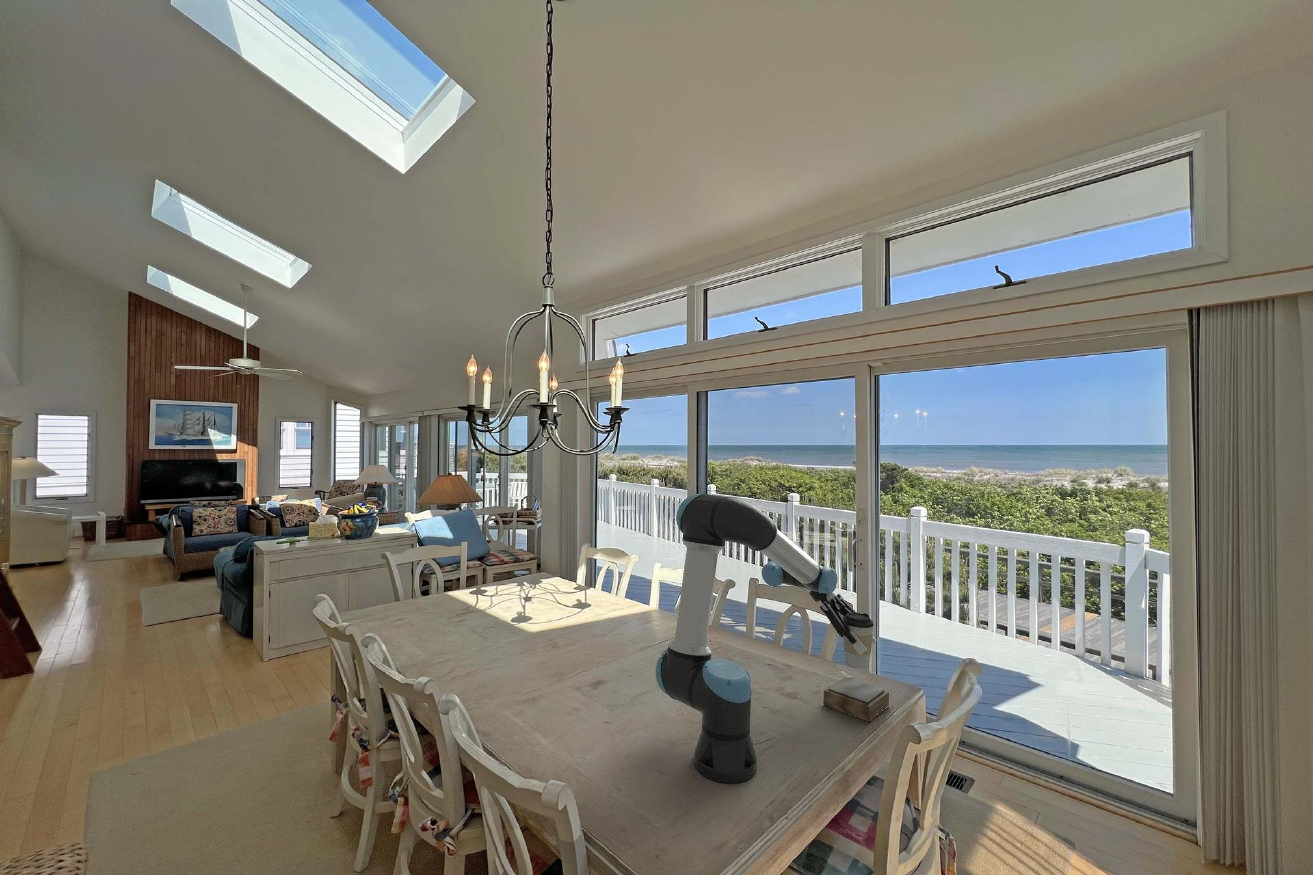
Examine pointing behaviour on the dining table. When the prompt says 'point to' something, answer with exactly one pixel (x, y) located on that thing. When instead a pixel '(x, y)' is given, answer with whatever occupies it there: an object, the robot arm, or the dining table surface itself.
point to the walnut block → (856, 698)
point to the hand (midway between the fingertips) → (868, 647)
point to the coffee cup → (863, 631)
